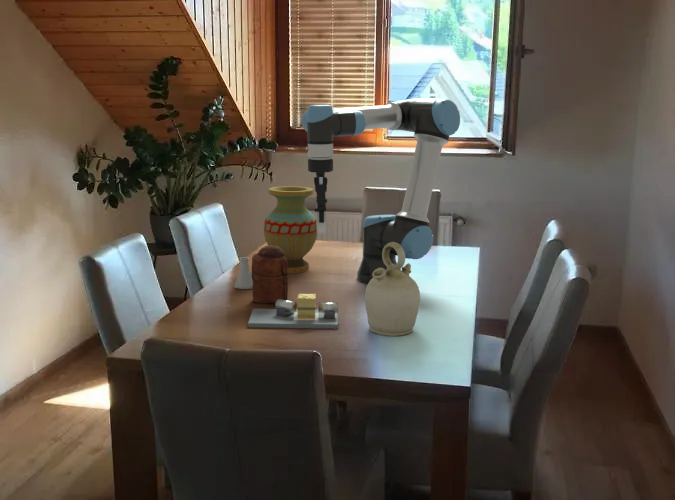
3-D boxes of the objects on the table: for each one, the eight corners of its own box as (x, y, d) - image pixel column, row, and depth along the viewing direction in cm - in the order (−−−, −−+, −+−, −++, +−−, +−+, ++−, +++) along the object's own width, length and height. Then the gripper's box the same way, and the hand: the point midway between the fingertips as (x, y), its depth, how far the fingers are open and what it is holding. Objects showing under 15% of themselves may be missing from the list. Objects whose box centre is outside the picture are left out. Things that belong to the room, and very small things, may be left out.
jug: (379, 341, 193) (382, 249, 187) (354, 324, 206) (356, 238, 201) (429, 334, 199) (433, 245, 193) (402, 318, 212) (405, 235, 207)
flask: (251, 290, 240) (251, 261, 238) (230, 289, 241) (230, 259, 239) (258, 285, 247) (258, 256, 245) (237, 283, 248) (237, 255, 246)
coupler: (298, 313, 211) (298, 293, 210) (315, 313, 211) (315, 293, 210) (297, 318, 206) (297, 298, 205) (315, 319, 206) (315, 298, 205)
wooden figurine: (290, 299, 230) (290, 244, 226) (286, 305, 224) (287, 248, 220) (253, 297, 231) (253, 242, 227) (249, 303, 225) (248, 246, 221)
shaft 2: (318, 318, 207) (318, 304, 206) (318, 314, 211) (318, 300, 210) (337, 319, 207) (337, 305, 206) (337, 314, 211) (337, 300, 210)
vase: (308, 261, 283) (309, 185, 277) (323, 273, 264) (325, 191, 258) (258, 264, 277) (258, 186, 270) (270, 276, 258) (270, 193, 252)
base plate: (337, 313, 216) (337, 309, 216) (337, 328, 202) (337, 324, 202) (253, 312, 216) (253, 308, 215) (248, 327, 202) (248, 322, 202)
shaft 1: (298, 314, 211) (298, 300, 210) (290, 318, 207) (290, 304, 206) (282, 311, 213) (282, 297, 212) (274, 315, 210) (274, 301, 209)
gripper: (307, 153, 226) (309, 220, 231) (307, 163, 202) (308, 237, 207) (331, 153, 226) (332, 220, 231) (334, 162, 202) (334, 237, 207)
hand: (321, 228), depth 219 cm, fingers open, 13 cm apart
